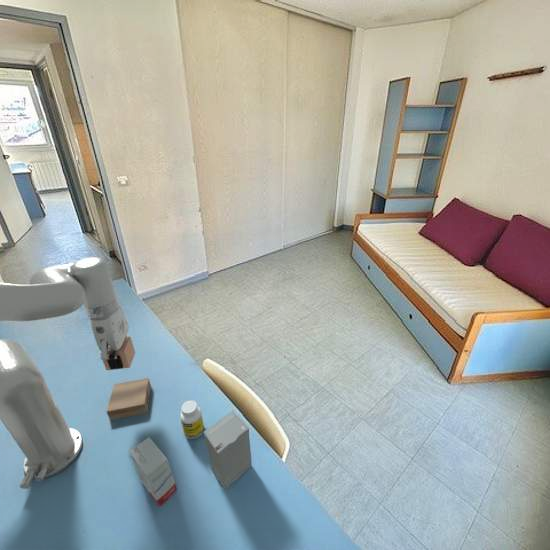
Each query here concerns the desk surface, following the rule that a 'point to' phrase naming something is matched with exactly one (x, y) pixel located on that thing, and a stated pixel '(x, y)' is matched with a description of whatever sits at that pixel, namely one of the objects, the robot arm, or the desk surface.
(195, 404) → the supplement bottle
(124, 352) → the terracotta cube
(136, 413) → the walnut block
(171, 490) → the ink box
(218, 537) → the desk surface
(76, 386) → the desk surface
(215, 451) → the skincare box
